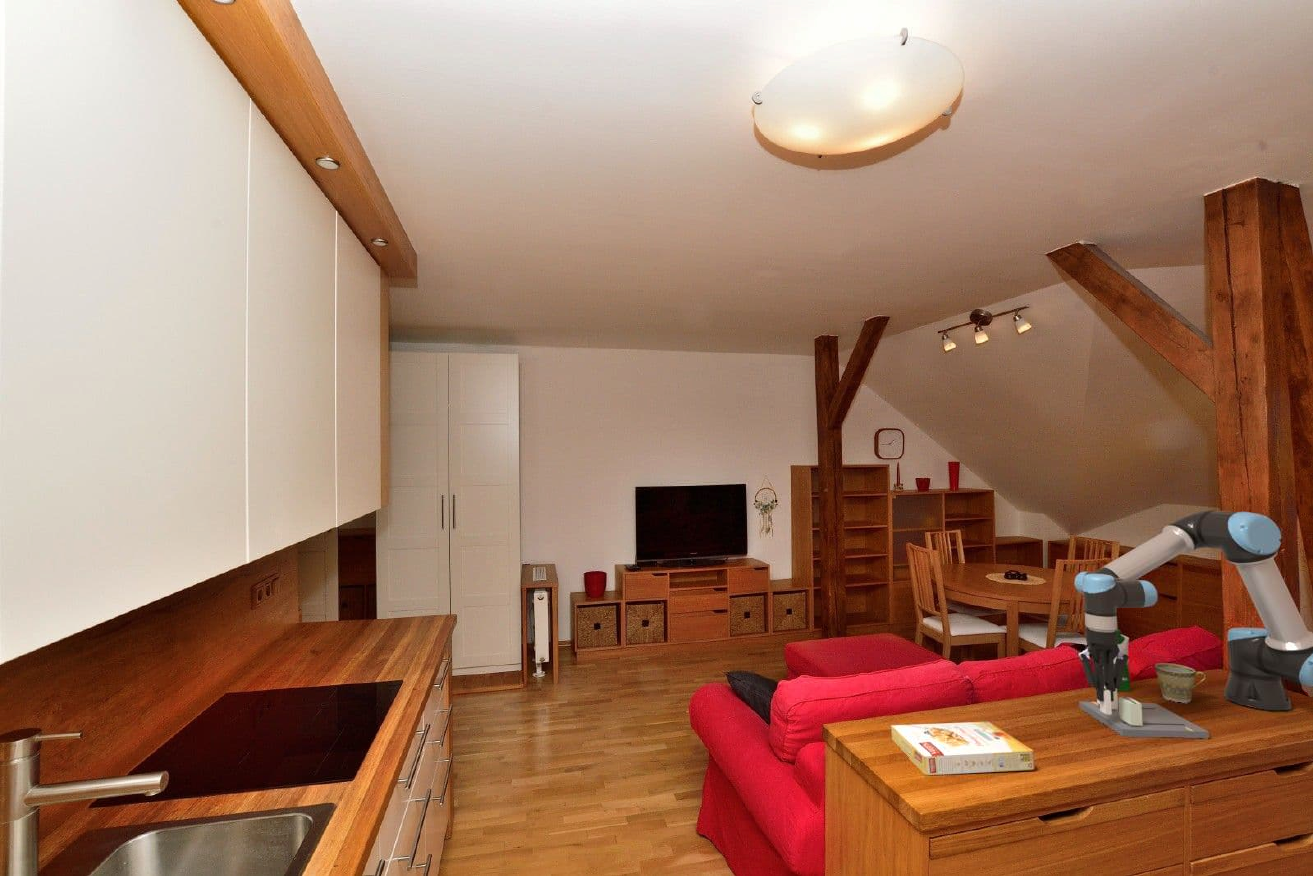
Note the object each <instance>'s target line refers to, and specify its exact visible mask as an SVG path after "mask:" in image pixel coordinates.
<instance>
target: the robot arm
mask: <svg viewBox="0 0 1313 876" xmlns="http://www.w3.org/2000/svg"><path fill="white" fill-rule="evenodd" d="M1281 539H1282V533H1281V530H1280V528H1279V527H1278V525H1277V524H1276V522H1274V521H1273V519H1271V518H1269V516H1266V515H1263V514H1260V513H1254V512H1249V511H1229V510H1228V511H1225V510H1214V509H1211V510H1210V509H1208V510H1201V511H1196V512H1193V513H1191V514H1188V515H1185V516H1183V517H1181V518H1178V519H1177V520H1175V521H1172V522H1171V523H1169V524H1168V525H1166V526H1164V527H1163V529H1162V532H1161V533H1159V534H1157V535H1156V536H1154V537H1152V538H1151V539H1149V540H1147V541H1146V542H1144V543H1142V544H1140V545H1139V546H1137V547H1135V548H1133V549H1132V550H1130V551H1128V552H1127V553H1125V554H1123V555H1121V556H1120V557H1118V558H1116V559H1114V560H1112V561H1111V562H1109V563H1108V564H1106V565H1104V566H1102V567H1101V568H1099V569H1097V570H1096V571H1093V572H1092V571H1081V572H1079V573H1077V575H1076V576H1075V578H1074V587H1075V589H1076V591H1077V592H1078V593H1079V594H1081V595H1083V607H1084V608H1083V609H1084V622H1085V623H1084V624H1085V626H1086V628H1085V640H1086V645H1085V648H1084V650H1083V651H1082V652H1081V651H1078V652H1077V653H1076V655H1077V656H1078V658H1079V659H1080V661H1081V664H1082V667H1083V672H1084V673H1085V677H1086V680H1087V685H1089V686H1091V687H1092V688H1094V689H1095V690H1096V700H1097V699H1098V700H1099V701H1100V711H1102V712H1103V713H1105V714H1111V715H1112V711H1111V702H1113V701H1114V694H1113V692H1115V691H1116V688H1121V684H1122V679H1123V673H1124V668H1125V663H1126V662H1127V660H1128V661H1129V659H1130V656H1129V654H1128V655H1126V654H1124V653H1122V652H1120V649H1119V648H1118V633H1117V631H1115V630H1117V629H1118V619H1117V618H1118V615H1117V609H1120V608H1140V609H1141V608H1148V607H1152V606H1154V605H1155V604H1156V603H1157V602H1158V590H1157V589H1156V587H1155V586H1154V584H1153V583H1151V582H1149V581H1147V580H1141V579H1140V580H1139V578H1142V576H1145V575H1146V574H1147V573H1150V572H1151V571H1154V570H1155V569H1156V568H1159V567H1160V566H1161V565H1163V564H1165V563H1167V562H1169V561H1170V560H1172V559H1173V558H1175V557H1177V556H1180V555H1181V554H1190V553H1192V552H1193V551H1195V550H1198V549H1207V548H1209V549H1210V548H1211V549H1215V550H1217V549H1218V550H1221V552H1222V554H1223V556H1224V558H1225V560H1226V562H1228V563H1230V564H1233V565H1235V567H1236V569H1237V570H1238V573H1239V575H1240V577H1241V579H1242V581H1243V583H1244V587H1246V590H1247V592H1248V594H1249V597H1250V598H1251V600H1252V602H1253V604H1254V607H1255V609H1256V611H1257V613H1258V615H1259V617H1260V620H1261V621H1262V623H1263V626H1264V628H1263V627H1262V628H1261V627H1232V628H1229V630H1228V632H1227V640H1226V641H1227V642H1226V643H1227V652H1228V662H1229V676H1228V678H1227V681H1226V685H1225V687H1224V689H1223V693H1224V696H1225V697H1224V698H1225V699H1226V700H1227V699H1228V700H1227V701H1229V700H1231V701H1233V702H1236V703H1238V704H1237V705H1239V704H1241V705H1240V706H1242V705H1249V706H1252V707H1256V708H1260V709H1266V710H1265V711H1267V710H1289V709H1291V710H1292V702H1291V699H1290V698H1289V695H1288V692H1287V690H1286V689H1285V686H1284V684H1283V682H1282V679H1285V680H1288V681H1292V682H1295V683H1298V684H1301V685H1304V686H1306V687H1307V686H1308V687H1312V688H1313V632H1312V631H1309V630H1308V629H1307V627H1306V624H1305V623H1304V621H1303V618H1302V616H1301V614H1300V612H1299V610H1298V607H1297V606H1296V603H1295V601H1294V599H1293V597H1292V595H1291V593H1290V591H1289V589H1288V587H1287V584H1286V582H1285V580H1284V579H1283V576H1282V574H1281V572H1280V569H1279V567H1278V566H1277V563H1276V562H1275V560H1274V558H1276V556H1277V555H1278V550H1279V548H1280V547H1281V544H1282V542H1281V541H1280V540H1281ZM1116 657H1117V658H1116ZM1090 658H1092V663H1093V666H1092V663H1091V661H1090ZM1115 658H1116V661H1115V666H1114V659H1115ZM1113 666H1114V671H1113ZM1103 667H1104V669H1103ZM1104 684H1105V687H1106V688H1104ZM1231 701H1230V702H1231ZM1233 702H1232V703H1233ZM1236 703H1235V704H1236ZM1260 709H1259V710H1260ZM1289 711H1290V710H1289Z"/></svg>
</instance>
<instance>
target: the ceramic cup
mask: <svg viewBox="0 0 1313 876" xmlns="http://www.w3.org/2000/svg"><path fill="white" fill-rule="evenodd" d="M1154 667H1155V668H1154V669H1155V672H1156V676H1157V680H1158V683H1159V686H1160V691H1161V694H1162V698H1163V699H1165V700H1167V701H1169V700H1172V701H1171V702H1173V701H1175V702H1174V703H1177V702H1181V703H1180V704H1189V703H1191V702H1192V696H1193V695H1192V694H1193V689H1194V688H1195V687H1197V685H1199V684H1201V683H1202V682H1204V681H1205V680H1206V674H1205V673H1204V672H1202V671H1200V670H1199V671H1198V670H1197V671H1196V670H1195V669H1194V668H1192V667H1189V666H1185V665H1181V664H1176V663H1166V662H1164V663H1163V662H1161V663H1155V664H1154ZM1199 674H1201V675H1203V677H1202V679H1200V680H1198V681H1197V682H1196V683H1195V680H1196V679H1195V678H1196V676H1197V675H1199ZM1190 701H1191V702H1190ZM1188 702H1189V703H1188Z"/></svg>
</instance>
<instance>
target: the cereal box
mask: <svg viewBox="0 0 1313 876" xmlns="http://www.w3.org/2000/svg"><path fill="white" fill-rule="evenodd" d="M890 727H891V731H890V732H891V741H892V740H893V741H894V742H895V743H896V744H897V746H899V747H900V748H901V750H902V751H903V752H904V753H905V754H906V755H907V756H908V757H909V758H908V757H907V756H906V755H905V754H904V753H903V752H902V751H901V750H900V751H901V752H902V753H903V754H904V755H905V756H906V757H907V758H908V759H909V760H910V761H911V762H912V763H913V764H914V765H915V766H916V767H917V769H919V770H920V771H921V772H922V773H923V774H924V775H925V776H938V775H939V776H941V775H958V774H974V773H975V774H977V773H993V772H996V773H997V772H1014V771H1015V772H1016V771H1018V772H1019V771H1033V770H1035V760H1034V759H1035V757H1034V750H1033V749H1032V748H1031V747H1029V746H1028V745H1025V744H1024V743H1022V742H1021V741H1019V740H1018V739H1017V738H1015V737H1013V735H1010V734H1008V732H1006V731H1004V730H1002V729H1001V728H999V727H998V726H996V725H994V724H993V723H992V722H990V721H972V722H971V721H970V722H969V721H967V722H948V723H944V722H943V723H920V724H919V723H917V724H898V725H897V724H893V725H892V724H891V726H890ZM897 746H896V747H897Z"/></svg>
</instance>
